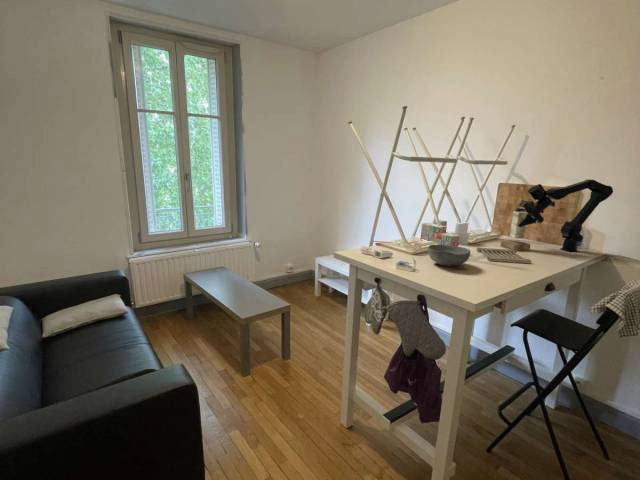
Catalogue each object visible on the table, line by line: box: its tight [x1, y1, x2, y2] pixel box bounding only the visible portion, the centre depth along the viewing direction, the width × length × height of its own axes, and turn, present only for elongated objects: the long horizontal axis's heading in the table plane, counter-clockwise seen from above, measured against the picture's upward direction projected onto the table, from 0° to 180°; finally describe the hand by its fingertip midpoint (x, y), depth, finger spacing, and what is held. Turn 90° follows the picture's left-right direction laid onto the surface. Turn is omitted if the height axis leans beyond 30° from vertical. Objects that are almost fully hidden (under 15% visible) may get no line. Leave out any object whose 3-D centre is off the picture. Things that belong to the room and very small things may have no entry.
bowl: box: [427, 245, 471, 267], centre depth 152 cm, size 18×18×8 cm
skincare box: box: [433, 219, 448, 227], centre depth 199 cm, size 6×4×12 cm
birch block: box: [509, 210, 528, 239], centre depth 185 cm, size 5×5×14 cm
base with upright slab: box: [451, 221, 470, 246], centre depth 195 cm, size 9×9×12 cm
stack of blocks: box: [420, 222, 460, 247], centre depth 181 cm, size 21×6×12 cm, turn 27°
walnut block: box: [500, 239, 531, 252], centre depth 188 cm, size 10×10×4 cm
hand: (516, 225), depth 185 cm, fingers closed on birch block, 5 cm apart
